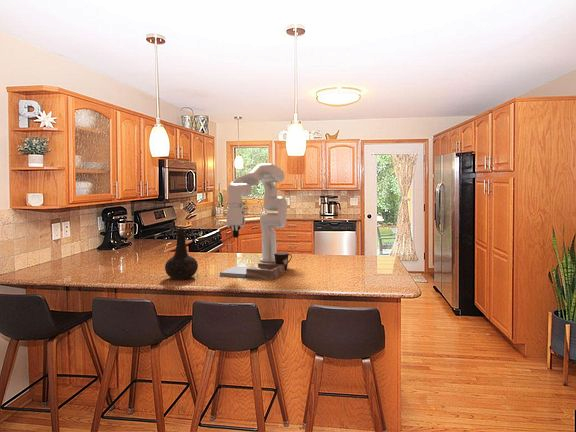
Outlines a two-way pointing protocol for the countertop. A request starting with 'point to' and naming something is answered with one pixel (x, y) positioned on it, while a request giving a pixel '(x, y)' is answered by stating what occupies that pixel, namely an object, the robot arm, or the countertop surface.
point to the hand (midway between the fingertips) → (236, 237)
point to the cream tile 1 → (254, 267)
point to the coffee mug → (282, 259)
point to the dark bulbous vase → (181, 260)
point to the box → (265, 271)
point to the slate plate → (235, 272)
